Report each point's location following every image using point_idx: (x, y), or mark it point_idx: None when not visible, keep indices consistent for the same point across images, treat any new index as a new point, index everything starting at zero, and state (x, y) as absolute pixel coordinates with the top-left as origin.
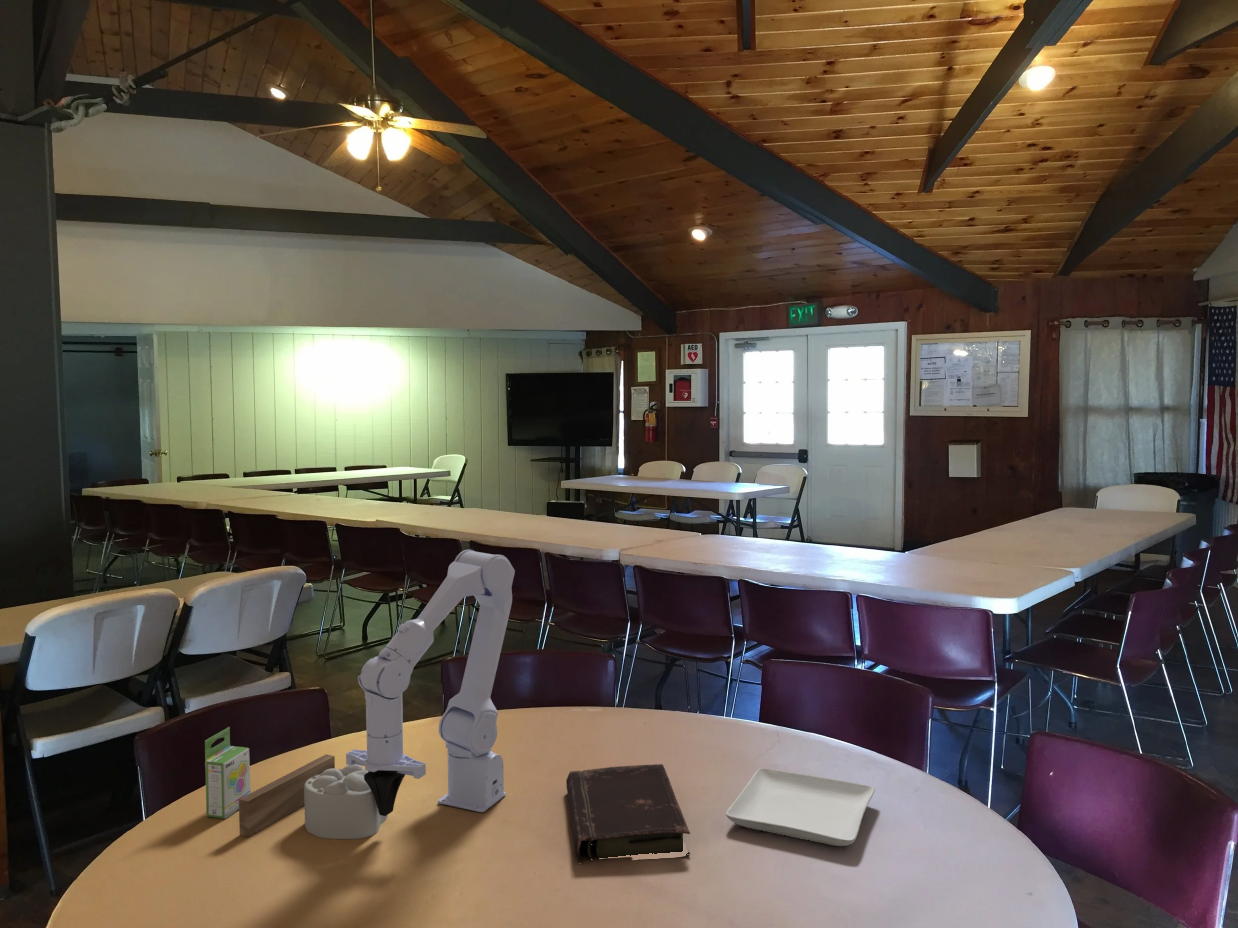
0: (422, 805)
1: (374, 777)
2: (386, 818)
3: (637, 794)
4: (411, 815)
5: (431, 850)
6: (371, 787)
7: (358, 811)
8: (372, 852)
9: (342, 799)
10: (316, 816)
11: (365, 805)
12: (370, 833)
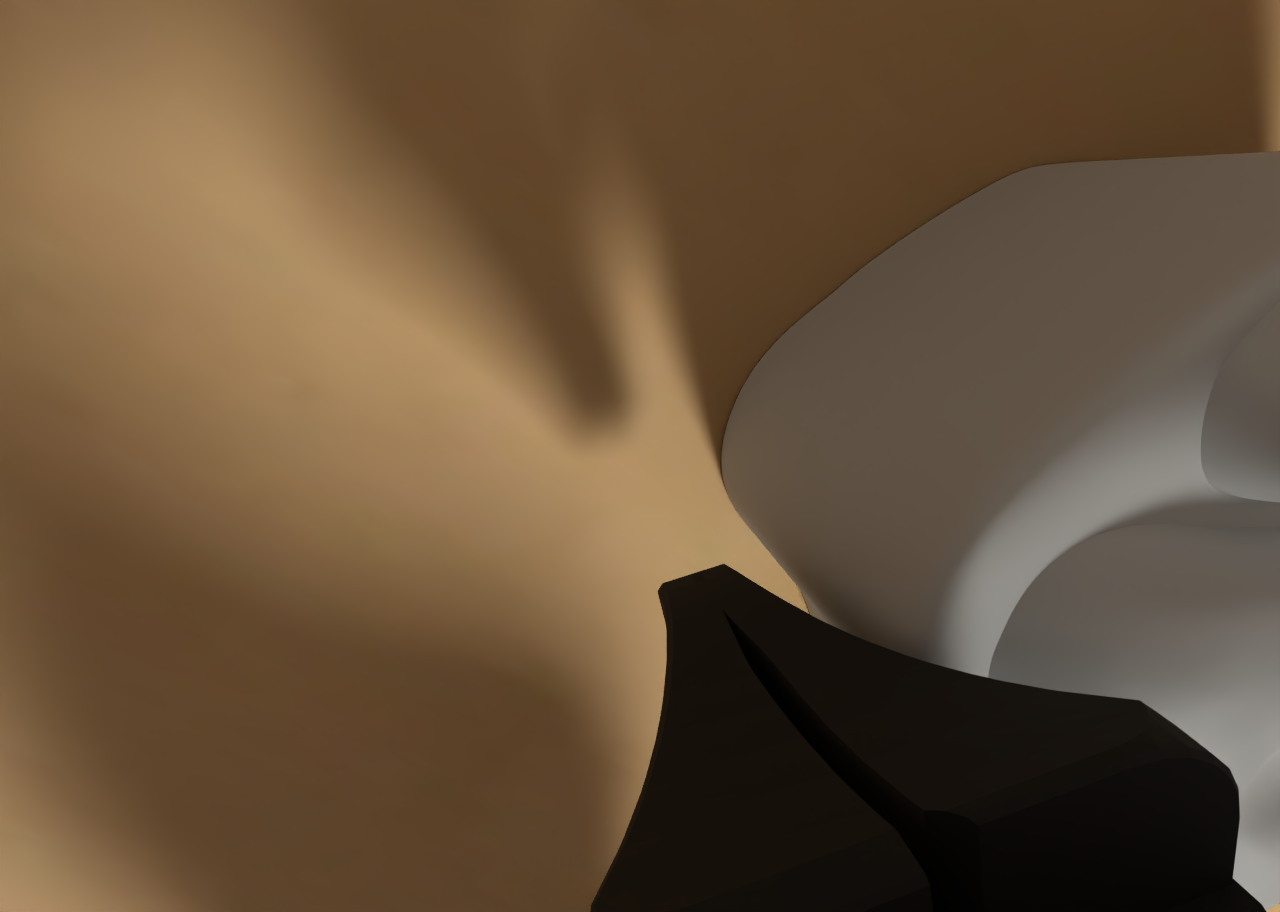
0: None
1: (969, 861)
2: None
3: None
4: None
5: (124, 614)
6: (932, 686)
7: (881, 418)
8: (484, 282)
9: (1142, 324)
10: (1223, 155)
11: (862, 502)
12: (730, 441)
